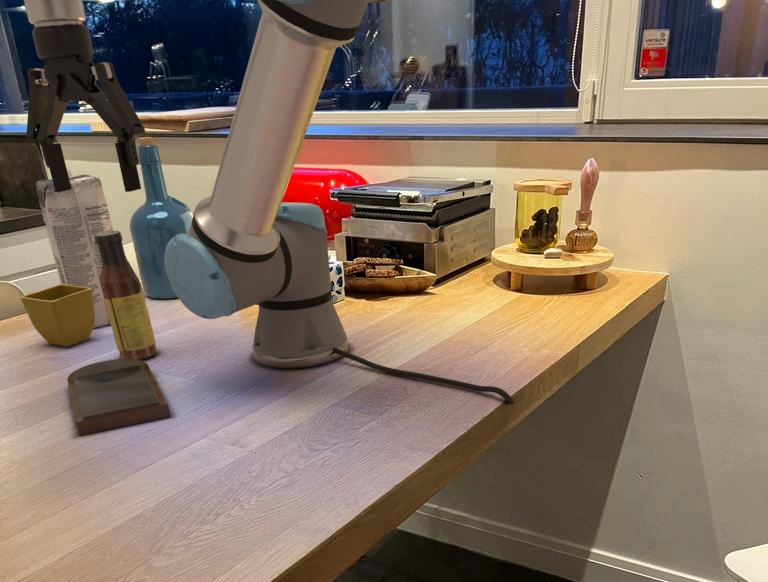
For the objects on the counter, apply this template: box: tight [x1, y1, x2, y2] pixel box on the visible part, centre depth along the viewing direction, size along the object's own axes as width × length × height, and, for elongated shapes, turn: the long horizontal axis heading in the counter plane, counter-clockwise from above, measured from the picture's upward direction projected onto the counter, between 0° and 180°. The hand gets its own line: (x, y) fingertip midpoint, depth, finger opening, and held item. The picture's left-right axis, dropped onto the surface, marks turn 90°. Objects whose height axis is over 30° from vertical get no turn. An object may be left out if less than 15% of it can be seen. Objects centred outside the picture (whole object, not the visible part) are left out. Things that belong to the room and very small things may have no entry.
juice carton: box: [35, 168, 114, 329], centre depth 144 cm, size 9×10×27 cm
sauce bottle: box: [94, 230, 157, 361], centre depth 126 cm, size 7×6×20 cm
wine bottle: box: [129, 136, 194, 300], centre depth 160 cm, size 14×13×30 cm
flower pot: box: [20, 283, 95, 348], centre depth 138 cm, size 9×9×9 cm
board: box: [66, 358, 171, 437], centre depth 114 cm, size 24×12×2 cm, turn 23°
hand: (97, 190), depth 118 cm, fingers open, 13 cm apart
